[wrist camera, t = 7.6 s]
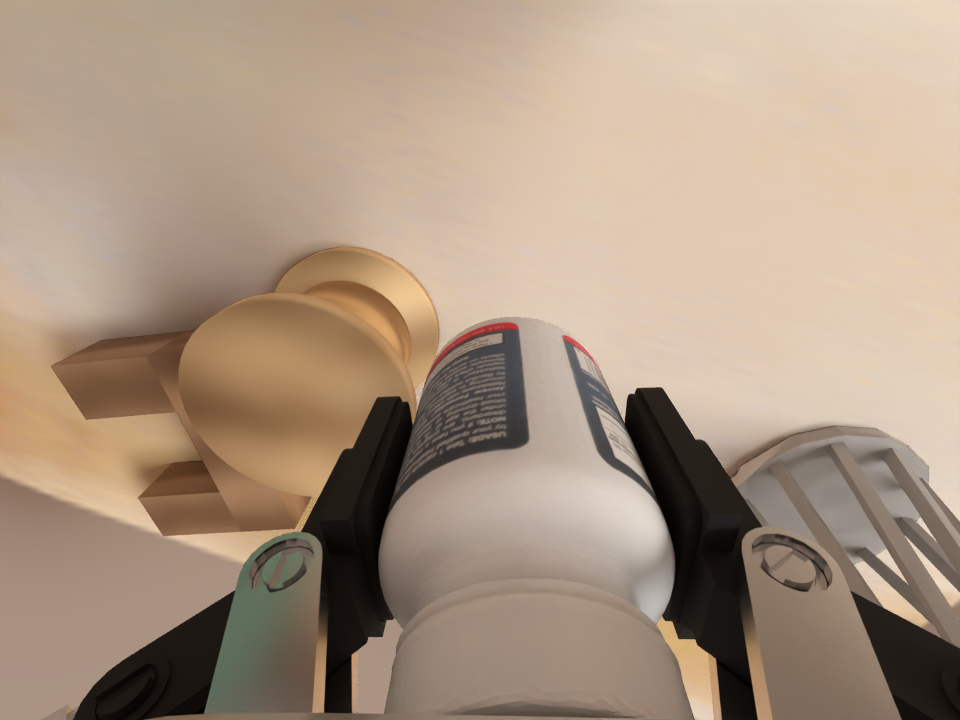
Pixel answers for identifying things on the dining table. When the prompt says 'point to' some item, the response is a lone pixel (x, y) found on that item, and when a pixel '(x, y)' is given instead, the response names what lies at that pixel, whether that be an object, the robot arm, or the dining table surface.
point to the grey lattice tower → (861, 511)
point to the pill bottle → (526, 541)
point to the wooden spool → (307, 365)
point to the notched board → (155, 389)
